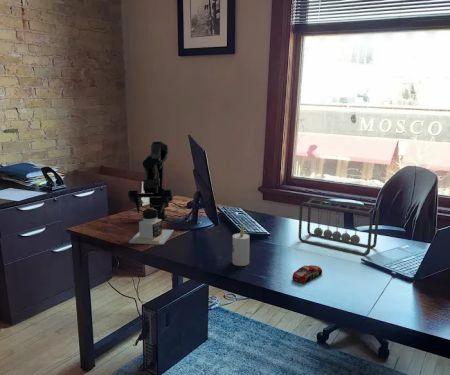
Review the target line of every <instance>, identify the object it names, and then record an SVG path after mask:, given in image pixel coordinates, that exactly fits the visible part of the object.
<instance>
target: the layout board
mask: <svg viewBox="0 0 450 375" xmlns="http://www.w3.org/2000/svg"><path fill="white" fill-rule="evenodd" d="M173 233H174V229H163V228H162V235H161V236H159V237H157V238H155V239H154V240H152V239H146V238H141V237H140V232H139V231H138V232H137V233H136V234H135V235H134V236H133V237H132V238H131V239H130V240H129V241H128V243H129V244H142V245H143V244H144V245H157V246H159V245H161V246H162V245H165V243H166V242H167V240H168V239H169V238H170V237H171V235H172V234H173Z"/></svg>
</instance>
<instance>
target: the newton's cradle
mask: <svg viewBox="0 0 450 375" xmlns="http://www.w3.org/2000/svg"><path fill="white" fill-rule="evenodd" d="M312 201H316V202H320V203H315V202H312ZM324 203H329V204H328V205H327V204H326V205H325V204H324ZM333 204H335V205H338V206H333ZM342 205H343V206H345V207H341V206H342ZM304 206H308V207H307V208H308V209H307V227H306V228H307V229H306V232H307V234H308V235H309V236H308V237H306V238H305V239H303V238H302V227H303V226H302V225H303V207H304ZM346 206H347V207H346ZM312 207H315V208H317V209H318V220H317V222H318V223H317V227H316V228H315V229H313V233H312V232H311V231H310V230H311V213H312ZM351 207H353V208H358V209H351ZM320 208H321V211H320ZM323 209H327V210H326V211H327V212H326V214H327V215H326V216H327V218H328V223H330V222H331V218H329V216H331V212H332V211H330V213H329V210H335V211H336V213H335V214H338V217H340V214H341V212H345V213H350V214H351V213H352V214H355V216H354V217H355V218H354V220H355V221H354V230H355V231H357V229H358V226H357V224H358V223H359V221H358V220H359V219H357V220H356V216H359V215H364V216H368V217H369V225H368V235H367V244H365V243H360V241H361V238H360V236H359V235H357V233H354V234H353V235H351V234H349V233H347V232H348V230H345V232H344V233H342V234H341V232H340V231H338V229H339V227H336V231H333V232H332V230H330V229H329V228H330V226H327V229H325V230H323V229H322V228H321V227H320V225H321V222H320V220H321V218H322V216H320V214H322V212H323ZM360 209H364V210H360ZM365 209H367V210H368V211H365ZM373 210H374V211H375V224H374V231H373V222H374V217H373V215H372V213H371V212H372V211H373ZM338 211H339V213H338ZM350 214H348V217H347V219H350V218H349V217H350ZM298 218H299V219H298V240H299V241H300V242H301V243H305V244H309V245H313V246H317V247H322V248H326V249H331V250H335V251H341V252H345V253H350V254H355V255H360V256H363V257H366V256H368V255H369V254H370V252H371V249H374V248H375V247H376V246H377V243H378V242H377V240H378V230H379V229H378V228H379V219H380V210H379V209H378V207H376V206H372V205H365V204H359V203H353V202H347V201H346V202H345V201H339V200H333V199H332V200H331V199H327V198H326V199H325V198H321V197H320V198H318V197H310V199H309V200H308V201H307V202H305V201H303V202H301V203H300V205H299V215H298ZM339 222H340V219H337V224H339ZM348 225H349V222H346V227H348ZM372 232H374V235H373V242H372ZM310 237H316V238H320V239H324V240H329V241H334V242H339V243H344V244H348V245H353V246H358V247H361V248H362V247H363V248H366V250H365V251H364V252H361V251H357V250H352V249H349V248H344V247H338V246H335V245H334V246H333V245H330V244H325V243H320V242H316V241H310V240H308V239H309V238H310ZM372 243H373V244H372Z"/></svg>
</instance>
